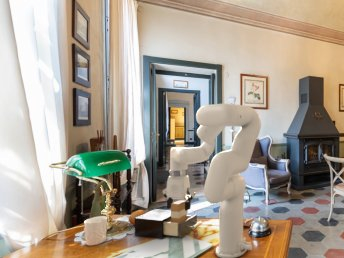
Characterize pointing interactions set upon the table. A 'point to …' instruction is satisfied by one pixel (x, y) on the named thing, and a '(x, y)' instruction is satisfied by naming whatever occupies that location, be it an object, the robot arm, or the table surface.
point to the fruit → (134, 215)
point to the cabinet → (152, 223)
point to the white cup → (95, 230)
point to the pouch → (98, 201)
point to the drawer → (180, 226)
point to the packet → (178, 211)
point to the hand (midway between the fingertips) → (178, 208)
